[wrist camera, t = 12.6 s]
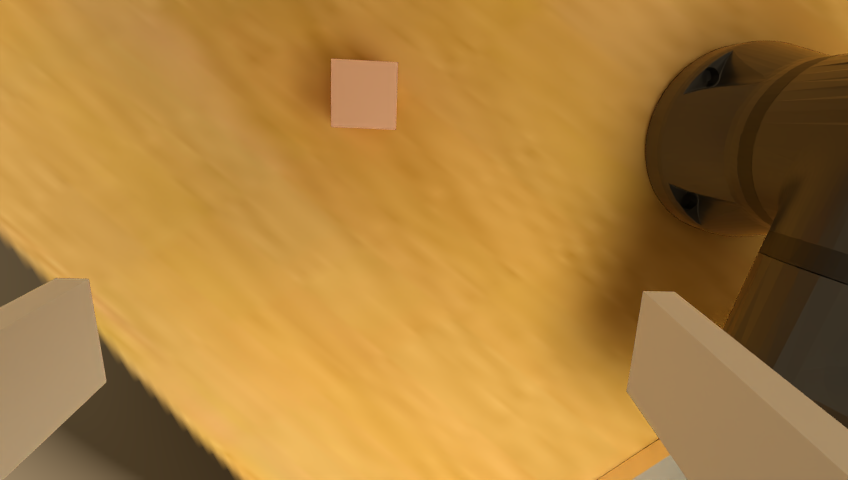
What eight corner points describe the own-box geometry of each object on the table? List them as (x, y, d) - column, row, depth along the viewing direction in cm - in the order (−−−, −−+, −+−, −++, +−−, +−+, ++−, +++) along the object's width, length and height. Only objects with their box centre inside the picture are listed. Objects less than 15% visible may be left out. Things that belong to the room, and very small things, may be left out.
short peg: (394, 72, 38) (398, 62, 31) (393, 126, 39) (395, 129, 32) (341, 69, 38) (331, 58, 30) (340, 124, 39) (331, 126, 31)
